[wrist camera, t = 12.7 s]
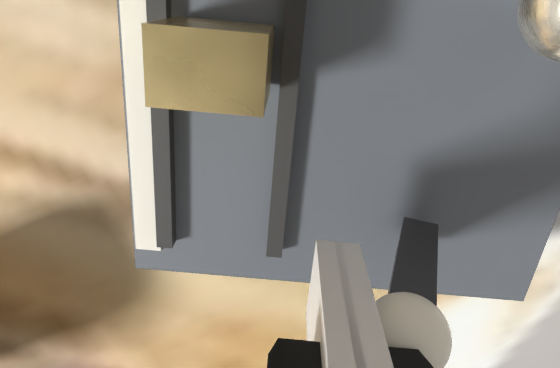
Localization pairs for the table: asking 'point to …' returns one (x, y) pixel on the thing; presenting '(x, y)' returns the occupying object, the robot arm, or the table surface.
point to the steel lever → (541, 26)
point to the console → (354, 145)
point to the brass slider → (207, 65)
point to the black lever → (416, 296)
